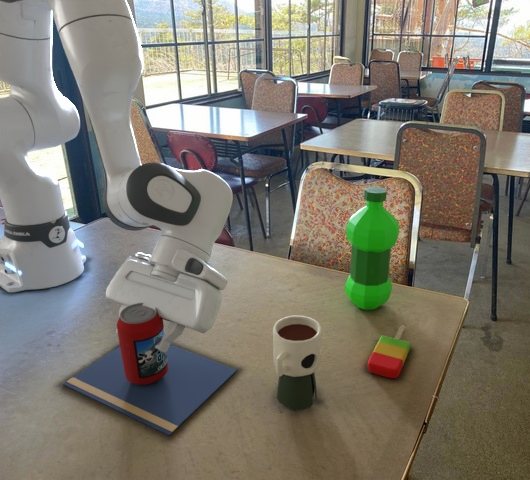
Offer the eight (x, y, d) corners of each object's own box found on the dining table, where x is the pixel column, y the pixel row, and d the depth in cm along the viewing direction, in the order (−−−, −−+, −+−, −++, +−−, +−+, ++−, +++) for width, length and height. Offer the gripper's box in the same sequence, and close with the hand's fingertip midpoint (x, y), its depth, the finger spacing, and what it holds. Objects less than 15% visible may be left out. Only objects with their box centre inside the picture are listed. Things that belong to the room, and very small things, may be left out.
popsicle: (365, 372, 81) (365, 363, 80) (388, 326, 93) (389, 318, 93) (397, 381, 79) (398, 372, 78) (416, 333, 92) (417, 325, 91)
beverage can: (156, 391, 75) (147, 326, 70) (117, 384, 76) (105, 320, 71) (176, 364, 81) (169, 303, 76) (140, 358, 82) (130, 298, 77)
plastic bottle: (338, 312, 98) (343, 195, 88) (349, 288, 107) (355, 179, 97) (387, 320, 95) (398, 201, 85) (394, 295, 105) (405, 184, 95)
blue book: (63, 384, 76) (62, 383, 76) (139, 333, 89) (139, 332, 89) (169, 435, 67) (169, 434, 67) (237, 370, 80) (237, 369, 80)
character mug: (299, 430, 69) (300, 356, 63) (257, 412, 72) (255, 340, 66) (332, 385, 78) (335, 316, 72) (294, 371, 80) (294, 304, 75)
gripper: (120, 242, 81) (79, 320, 77) (217, 270, 73) (178, 358, 68) (143, 256, 86) (106, 329, 82) (236, 283, 78) (201, 366, 74)
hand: (140, 343), depth 75 cm, fingers closed on beverage can, 7 cm apart
